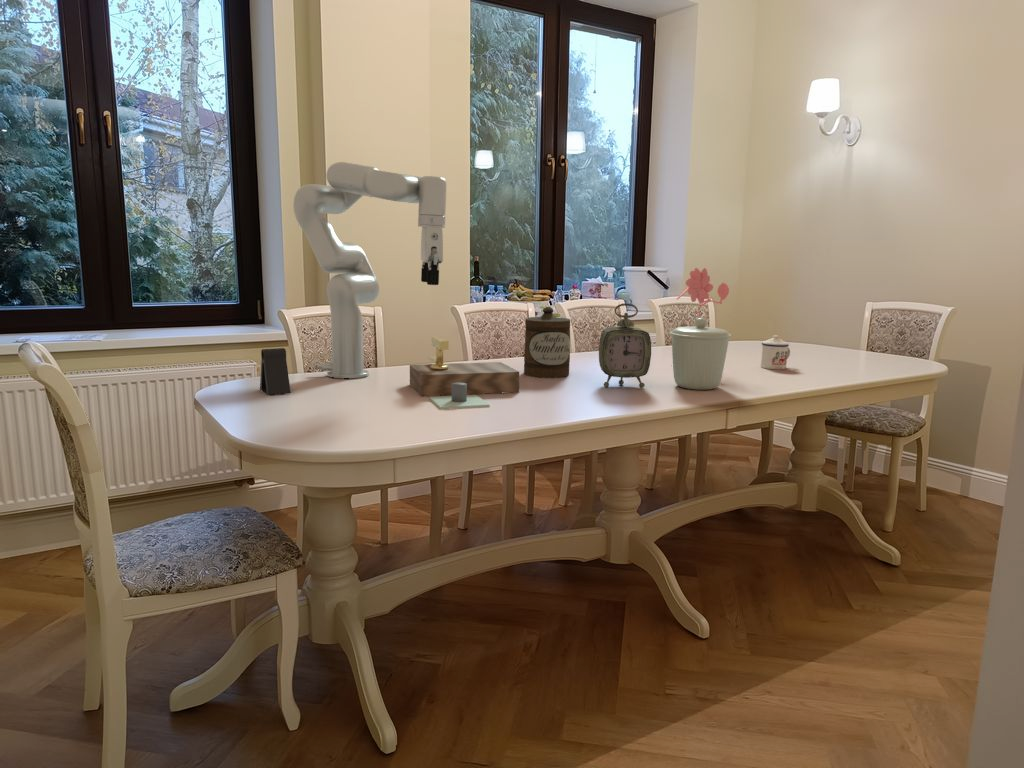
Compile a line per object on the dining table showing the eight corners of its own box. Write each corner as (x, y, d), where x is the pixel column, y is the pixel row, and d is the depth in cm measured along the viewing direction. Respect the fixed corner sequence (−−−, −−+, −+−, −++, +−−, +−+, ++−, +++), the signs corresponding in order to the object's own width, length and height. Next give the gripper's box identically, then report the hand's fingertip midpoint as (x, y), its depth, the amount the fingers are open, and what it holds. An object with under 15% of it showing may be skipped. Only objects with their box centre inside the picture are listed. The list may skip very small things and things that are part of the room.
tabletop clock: (600, 388, 220) (604, 304, 216) (596, 383, 229) (599, 301, 225) (649, 389, 221) (653, 305, 216) (642, 383, 230) (647, 302, 225)
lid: (440, 411, 188) (440, 389, 187) (429, 401, 200) (429, 380, 199) (489, 409, 192) (490, 387, 191) (476, 399, 204) (476, 378, 203)
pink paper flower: (684, 360, 280) (689, 266, 273) (735, 371, 257) (741, 269, 251) (652, 363, 273) (656, 266, 266) (701, 375, 250) (706, 269, 243)
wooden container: (530, 378, 235) (532, 308, 231) (518, 370, 249) (520, 305, 245) (575, 377, 238) (577, 308, 234) (561, 369, 253) (563, 305, 249)
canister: (654, 386, 226) (658, 316, 222) (687, 379, 239) (691, 314, 235) (707, 395, 213) (712, 322, 210) (738, 388, 226) (744, 318, 222)
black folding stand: (259, 390, 208) (258, 347, 205) (281, 388, 211) (280, 346, 209) (268, 395, 200) (266, 351, 198) (290, 393, 203) (289, 350, 201)
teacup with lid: (773, 370, 261) (776, 337, 259) (754, 366, 269) (757, 334, 267) (798, 368, 266) (801, 336, 264) (778, 364, 274) (781, 333, 272)
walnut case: (421, 396, 203) (421, 375, 202) (409, 384, 220) (409, 364, 219) (518, 392, 212) (519, 371, 211) (500, 381, 228) (500, 362, 227)
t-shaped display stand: (452, 371, 209) (452, 341, 207) (435, 371, 207) (435, 341, 205) (439, 362, 223) (439, 334, 221) (423, 363, 221) (423, 335, 219)
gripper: (451, 223, 202) (448, 286, 205) (439, 222, 218) (437, 281, 221) (423, 221, 200) (421, 285, 203) (413, 221, 216) (411, 280, 219)
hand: (429, 283), depth 212 cm, fingers open, 9 cm apart
